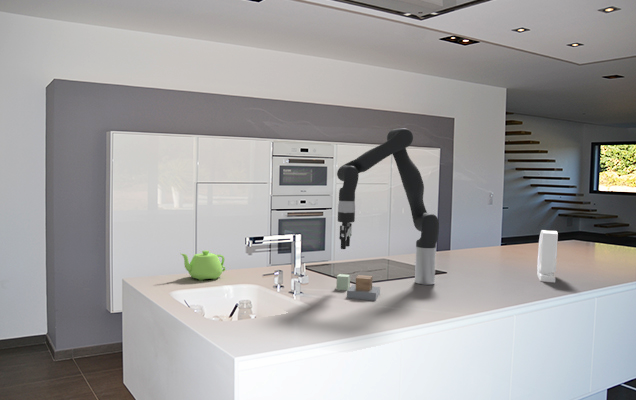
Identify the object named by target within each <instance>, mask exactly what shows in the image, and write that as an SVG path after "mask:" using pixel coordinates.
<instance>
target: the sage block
mask: <svg viewBox="0 0 636 400" xmlns="http://www.w3.org/2000/svg"><path fill="white" fill-rule="evenodd" d="M350 287H351V274H343V273H341V274H340V273H339V274H337V276H336V288H335V289H336V291H337V290H338V291H339V290H340V291H347V290H348V289H349V288H350Z"/></svg>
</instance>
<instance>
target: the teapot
mask: <svg viewBox="0 0 636 400" xmlns="http://www.w3.org/2000/svg"><path fill="white" fill-rule="evenodd" d="M201 252H202V253H195V254H194V255H193V257H192V258H191V260H190V262H189V256H188V255H187V254H185V253H181V252H180V255H181V256H182V257H183V261H184V262H183V263H184V268H185V270H186V271H187V272H188V274H189V276H190V277H191V278H193V279H197V280H198V281H205V280H208V279H211V280H217V278H220V277H221V275H222V274H223V272H225V271H226V266H224V263H225V257H224V255H222V254H215V253H212V252H210V250H206V249H205V250H202V251H201ZM219 257H221V261H220V258H219Z"/></svg>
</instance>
